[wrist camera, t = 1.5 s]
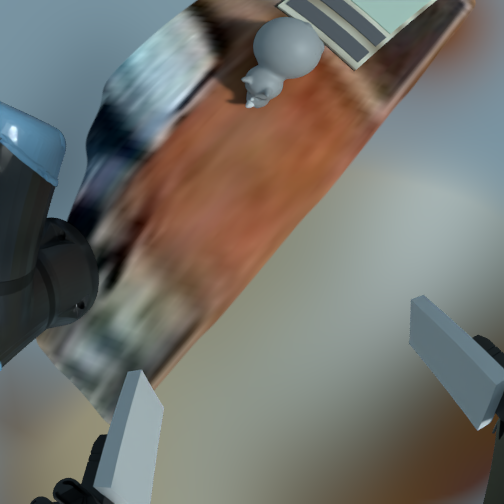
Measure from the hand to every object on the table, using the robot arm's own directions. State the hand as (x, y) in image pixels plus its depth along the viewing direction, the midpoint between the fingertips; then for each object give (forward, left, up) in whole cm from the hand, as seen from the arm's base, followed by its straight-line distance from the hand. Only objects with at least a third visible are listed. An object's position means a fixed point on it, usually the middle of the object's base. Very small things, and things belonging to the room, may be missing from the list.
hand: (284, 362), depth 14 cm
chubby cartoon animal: (+5, +21, -25) cm, 33 cm away
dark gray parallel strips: (+14, +28, -24) cm, 40 cm away
